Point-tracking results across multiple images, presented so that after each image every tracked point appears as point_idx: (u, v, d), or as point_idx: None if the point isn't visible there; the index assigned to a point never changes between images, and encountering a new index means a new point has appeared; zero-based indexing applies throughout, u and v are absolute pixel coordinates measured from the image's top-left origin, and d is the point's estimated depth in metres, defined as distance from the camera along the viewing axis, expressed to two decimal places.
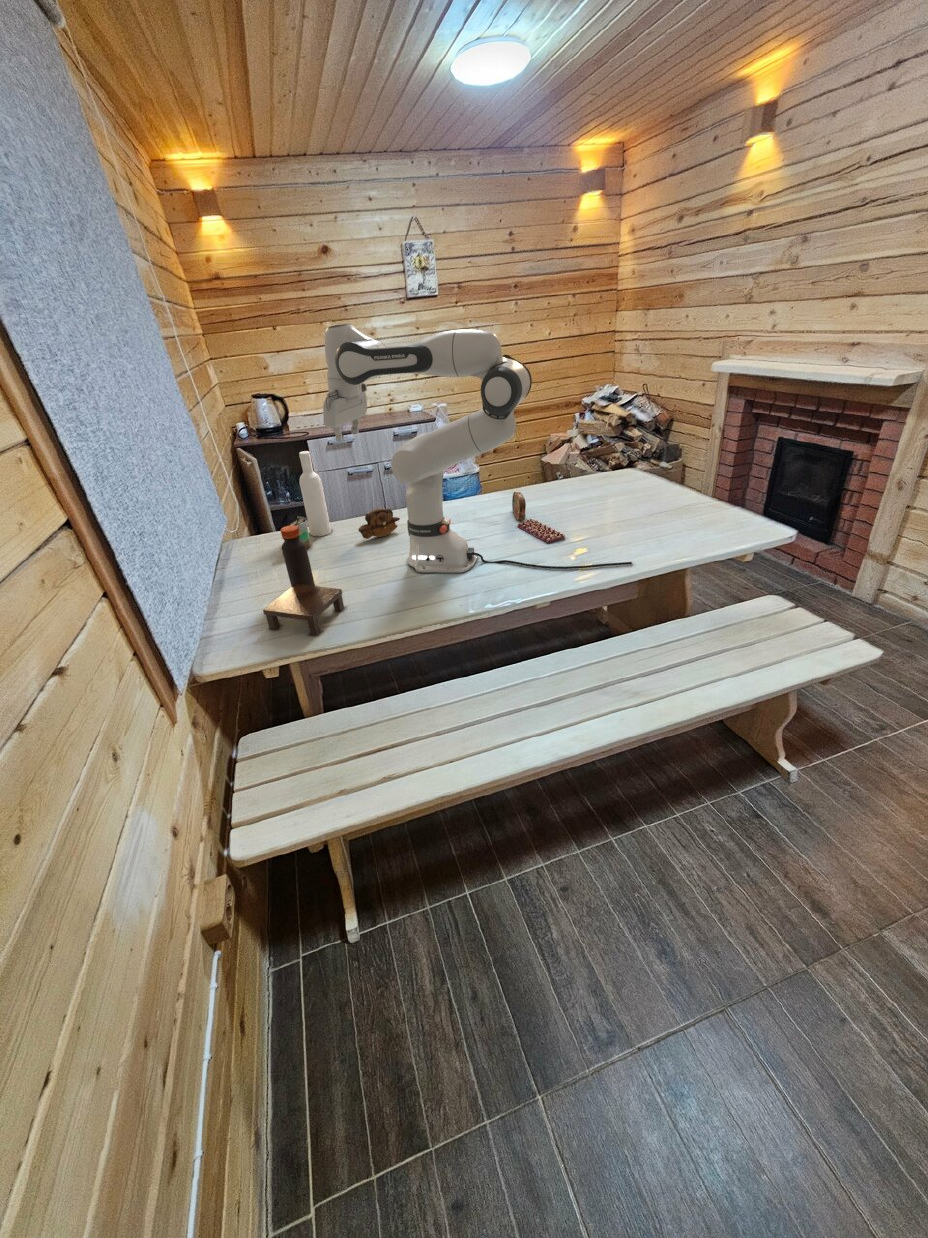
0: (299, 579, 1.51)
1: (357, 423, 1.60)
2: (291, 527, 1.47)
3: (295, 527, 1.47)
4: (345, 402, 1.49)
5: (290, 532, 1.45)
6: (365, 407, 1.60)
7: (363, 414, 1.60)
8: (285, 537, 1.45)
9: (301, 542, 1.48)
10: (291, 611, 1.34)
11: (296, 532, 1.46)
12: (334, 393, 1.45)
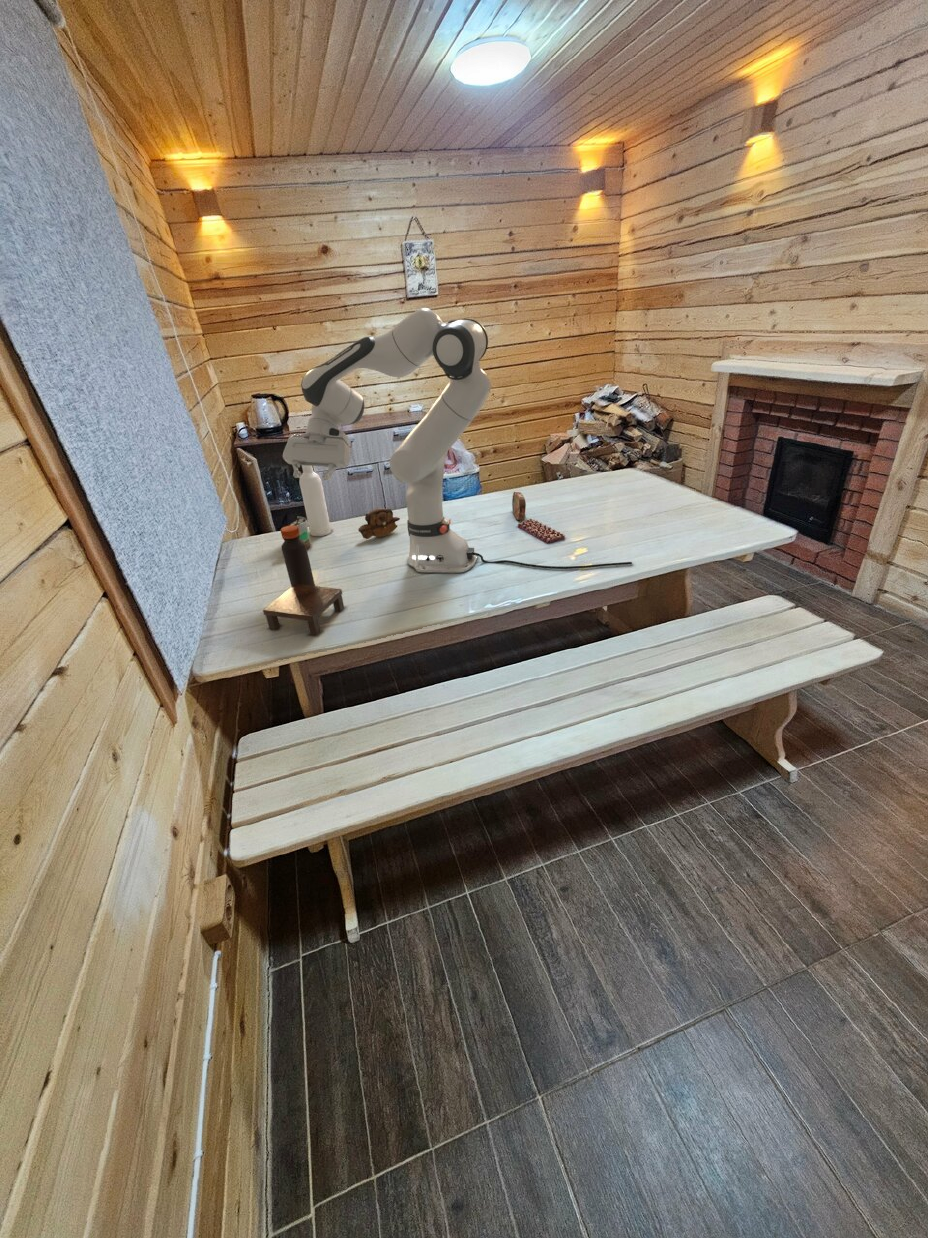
0: (299, 579, 1.51)
1: None
2: (291, 527, 1.47)
3: (295, 527, 1.47)
4: (306, 441, 1.54)
5: (290, 532, 1.45)
6: (340, 454, 1.50)
7: (335, 460, 1.51)
8: (285, 537, 1.45)
9: (301, 542, 1.48)
10: (291, 611, 1.34)
11: (296, 532, 1.46)
12: (300, 435, 1.56)
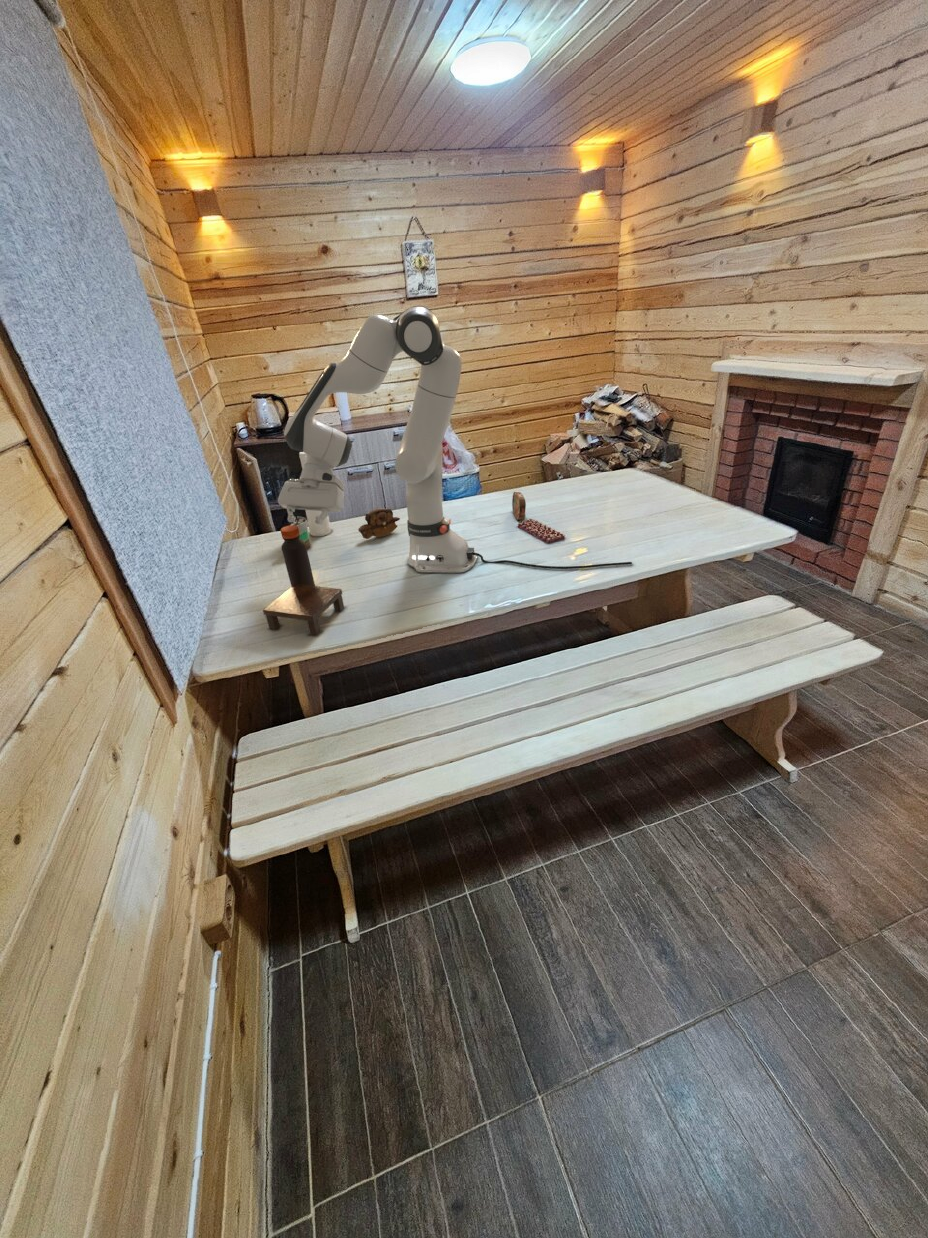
0: (299, 579, 1.51)
1: None
2: (291, 527, 1.47)
3: (295, 527, 1.47)
4: (301, 486, 1.54)
5: (290, 532, 1.45)
6: (333, 499, 1.50)
7: (328, 504, 1.50)
8: (285, 537, 1.45)
9: (301, 542, 1.48)
10: (291, 611, 1.34)
11: (296, 532, 1.46)
12: (296, 479, 1.57)
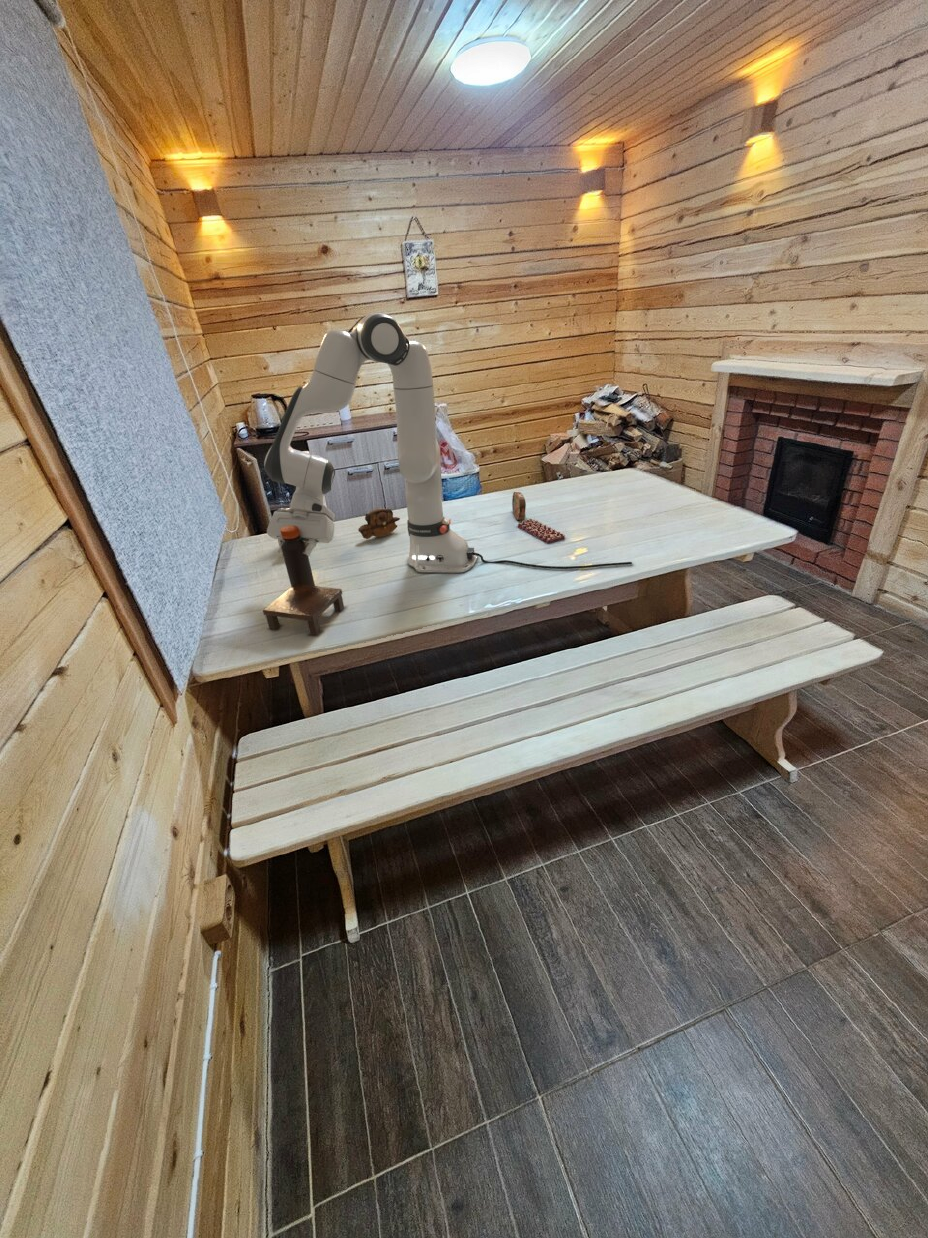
0: (299, 579, 1.51)
1: None
2: (291, 527, 1.47)
3: (295, 527, 1.47)
4: (290, 517, 1.51)
5: (289, 532, 1.45)
6: (323, 530, 1.47)
7: (318, 536, 1.47)
8: (285, 537, 1.45)
9: (301, 542, 1.48)
10: (291, 611, 1.34)
11: (296, 532, 1.46)
12: (285, 509, 1.54)
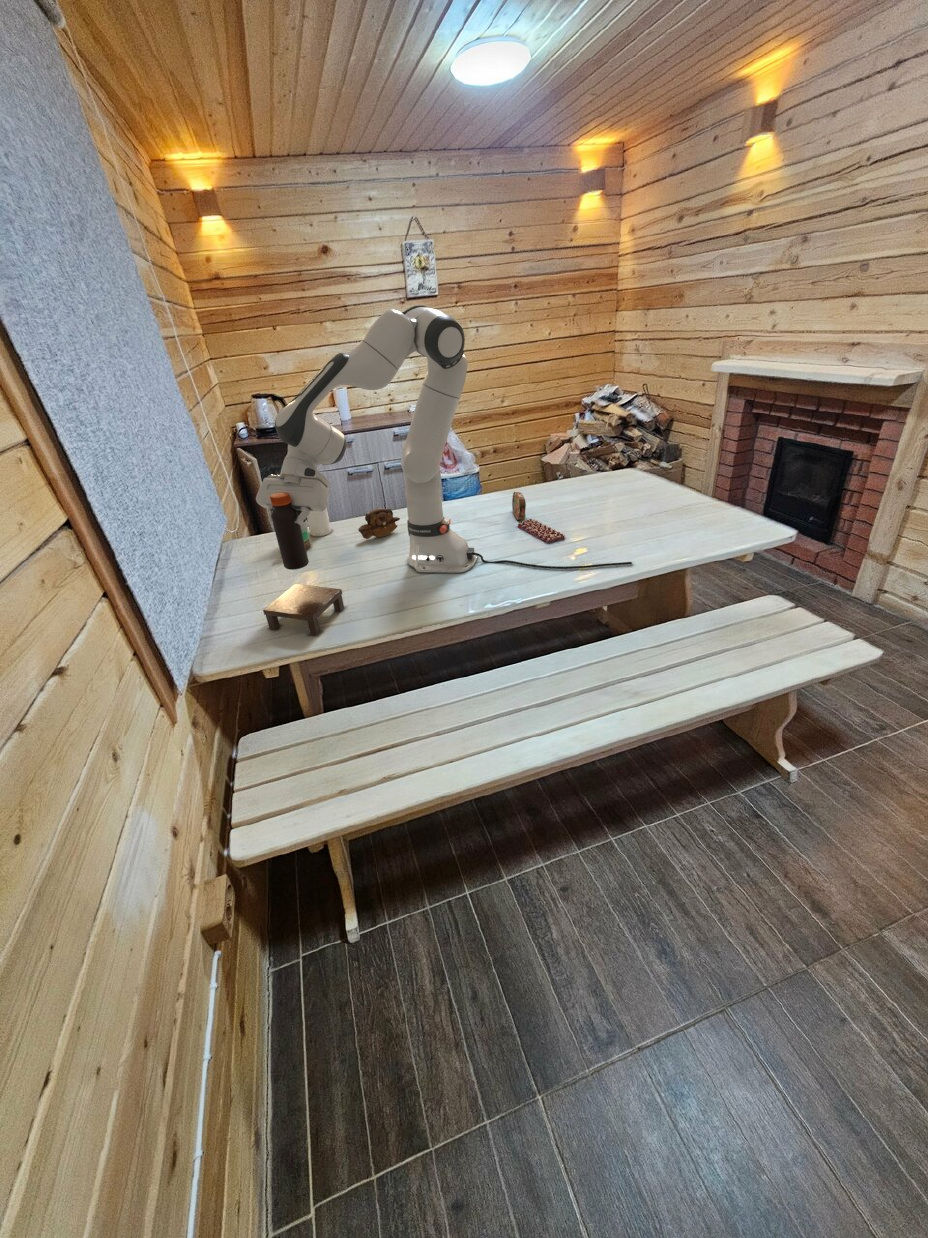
0: (290, 551, 1.39)
1: None
2: (281, 493, 1.35)
3: (286, 493, 1.35)
4: (281, 483, 1.39)
5: (280, 499, 1.32)
6: (316, 496, 1.35)
7: (311, 503, 1.35)
8: (275, 504, 1.33)
9: (292, 510, 1.36)
10: (291, 611, 1.34)
11: (287, 499, 1.34)
12: (276, 475, 1.42)
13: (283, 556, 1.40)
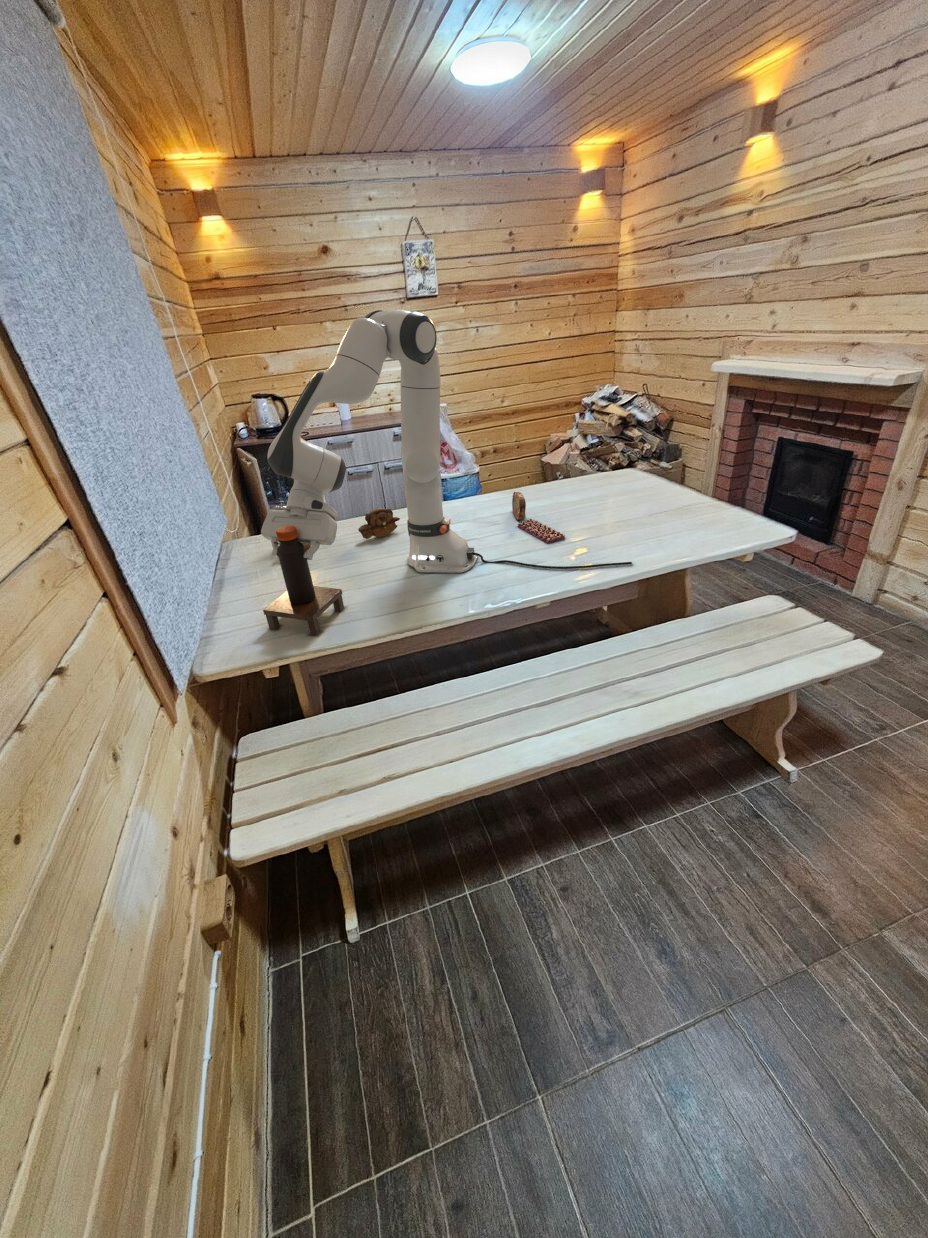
0: (297, 587, 1.34)
1: None
2: (288, 528, 1.30)
3: (292, 528, 1.30)
4: (287, 515, 1.34)
5: (286, 534, 1.27)
6: (324, 530, 1.30)
7: (318, 537, 1.30)
8: (281, 539, 1.28)
9: (299, 545, 1.31)
10: (291, 611, 1.34)
11: (294, 533, 1.29)
12: (282, 507, 1.37)
13: (289, 591, 1.35)
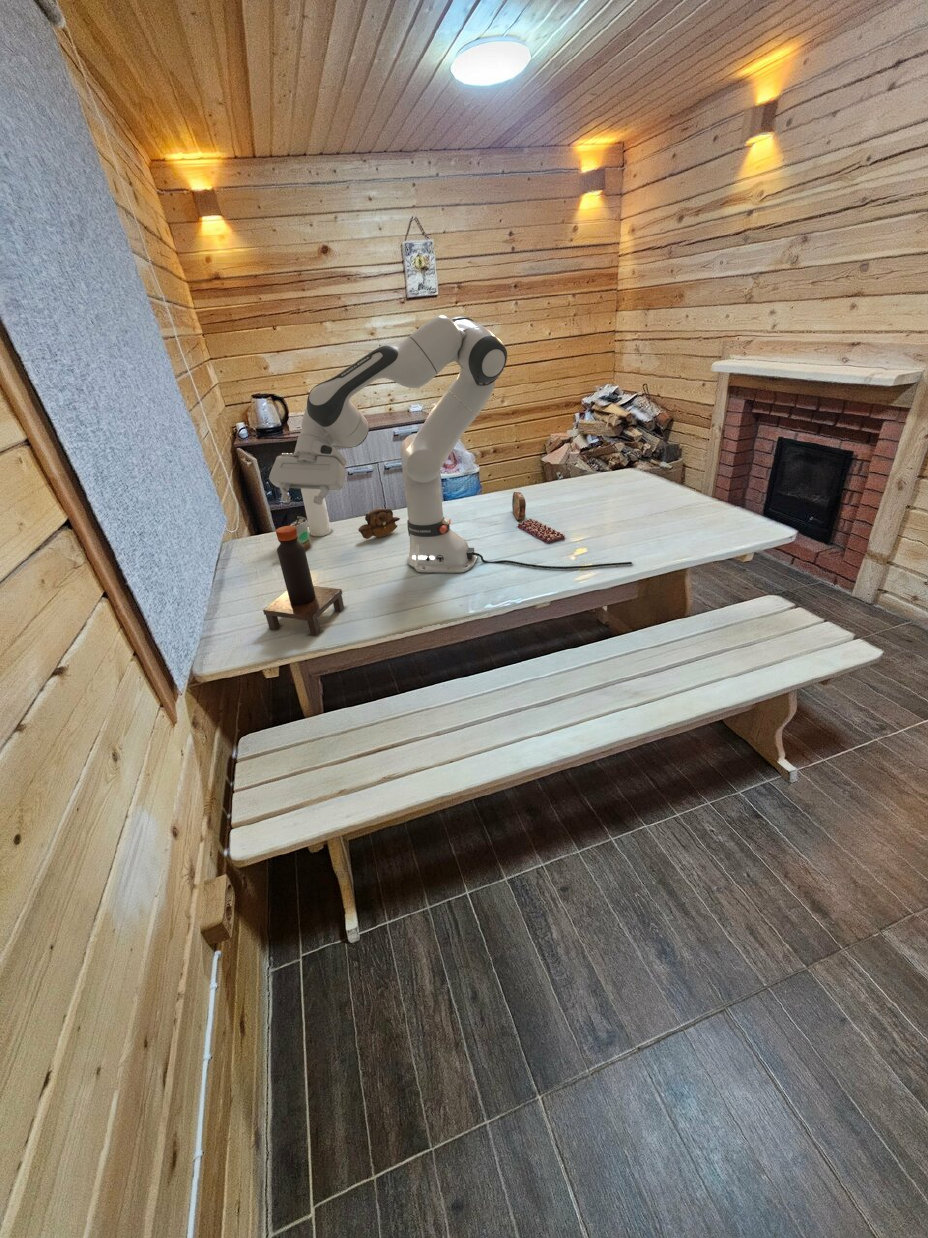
0: (297, 587, 1.34)
1: None
2: (288, 528, 1.30)
3: (292, 528, 1.30)
4: (296, 461, 1.35)
5: (286, 534, 1.27)
6: (333, 474, 1.31)
7: (328, 481, 1.31)
8: (281, 539, 1.28)
9: (299, 545, 1.31)
10: (291, 611, 1.34)
11: (294, 533, 1.29)
12: (289, 454, 1.37)
13: (289, 591, 1.35)
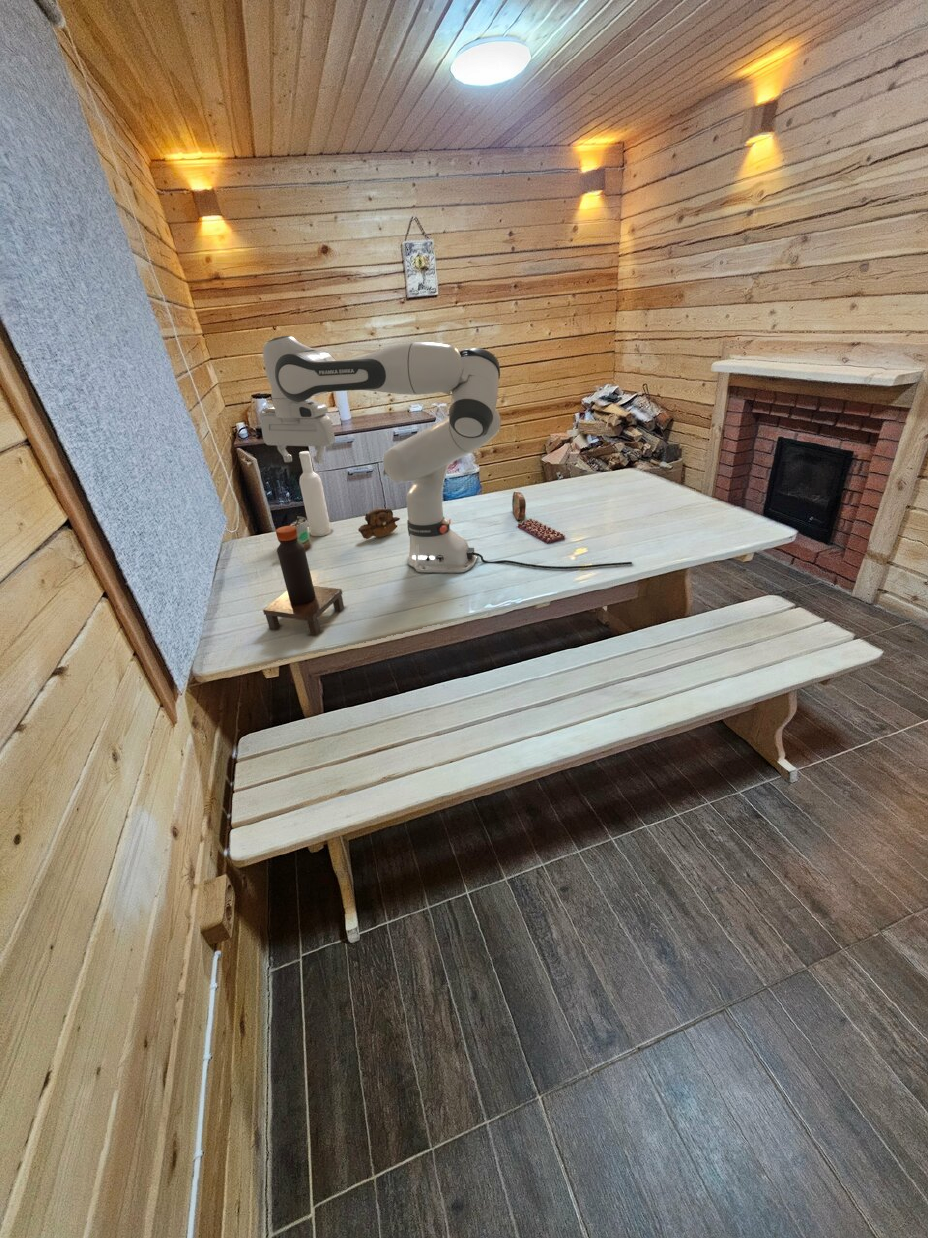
0: (297, 587, 1.34)
1: None
2: (288, 528, 1.30)
3: (292, 528, 1.30)
4: (281, 422, 1.35)
5: (286, 534, 1.27)
6: (323, 437, 1.33)
7: (320, 444, 1.35)
8: (281, 539, 1.28)
9: (299, 545, 1.31)
10: (291, 611, 1.34)
11: (294, 533, 1.29)
12: (270, 410, 1.35)
13: (289, 591, 1.35)
